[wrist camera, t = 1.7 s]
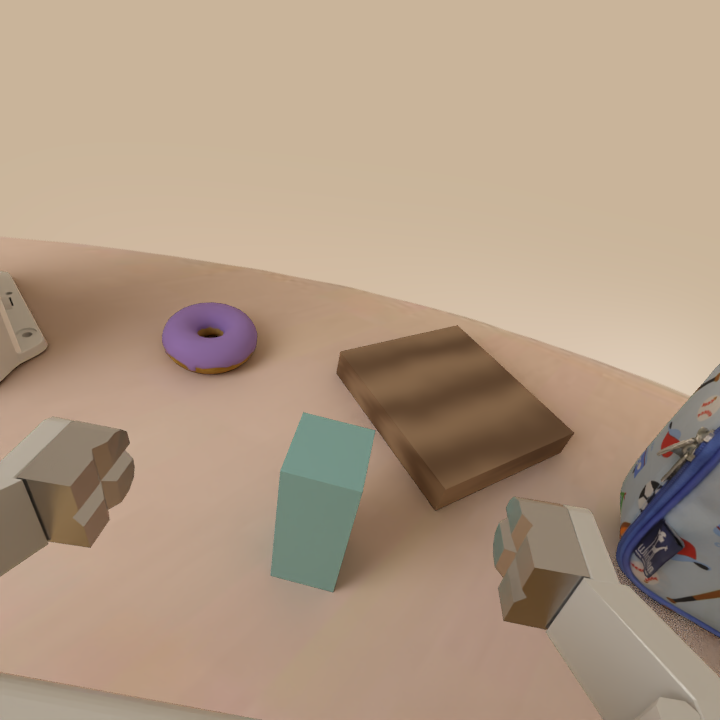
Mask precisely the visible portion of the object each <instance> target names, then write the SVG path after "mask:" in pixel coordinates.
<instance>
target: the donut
mask: <svg viewBox="0 0 720 720" xmlns="http://www.w3.org/2000/svg"><path fill="white" fill-rule="evenodd" d="M209 335H211V336H219V337H216V338H205V337H204V336H209ZM256 342H257V331H256V328H255V326H254V324H253V322H252V321H251V319H250V318H249V317H248V316H247V315H246V314H245V313H243V312H242V311H240V310H239V309H237V308H235V307H232V306H229V305H226V304H221V303H199V304H195V305H191V306H188V307H185V308H183V309H181V310H180V311H178V312H177V313H175V314H174V315H173V316H172V317H171V318H170V319H169V320H168V322H167V323H166V325H165V328H164V330H163V334H162V343H163V346H164V348H165V350H166V353H167V354H168V355H169V357H170V358H171V359H172V360H173V361H174V362H175V363H176V364H178V365H179V366H181V367H183V368H185V369H187V370H190V371H193V372H197V373H202V374H217V373H223V372H227V371H230V370H233V369H235V368H237V367H239V366H240V365H241V364H243V363H244V362H246V361H247V360H248V359H249V357H250V356H251V355H252V353H253V351H254V350H255V347H256Z"/></svg>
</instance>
